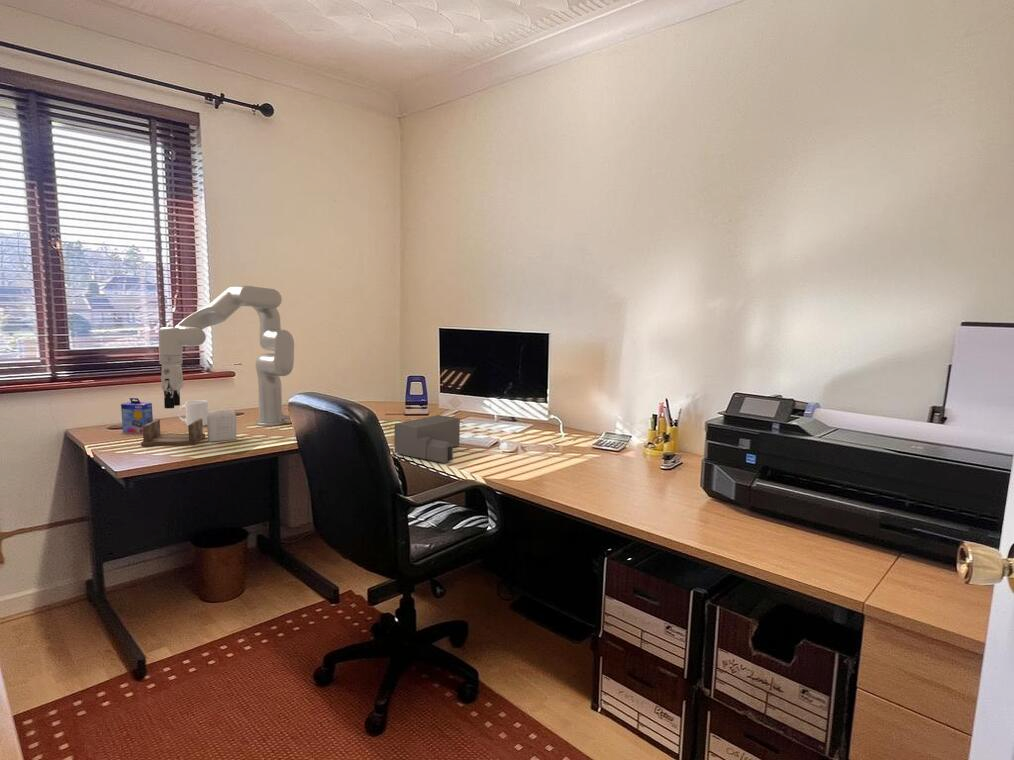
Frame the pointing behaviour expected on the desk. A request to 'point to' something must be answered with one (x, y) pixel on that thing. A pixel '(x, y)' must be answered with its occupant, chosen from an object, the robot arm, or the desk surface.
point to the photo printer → (221, 425)
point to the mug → (195, 411)
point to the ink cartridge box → (135, 416)
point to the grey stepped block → (428, 438)
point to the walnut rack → (171, 435)
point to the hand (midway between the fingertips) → (172, 406)
